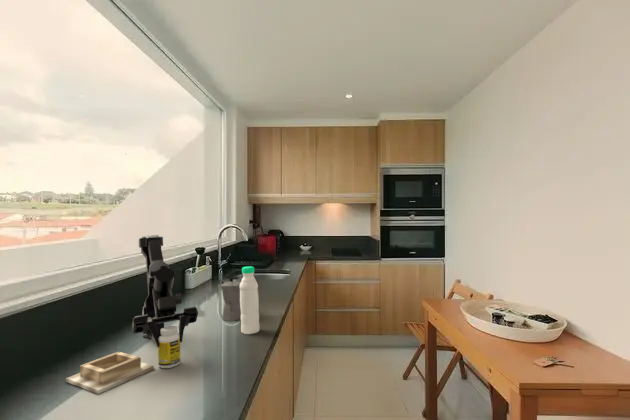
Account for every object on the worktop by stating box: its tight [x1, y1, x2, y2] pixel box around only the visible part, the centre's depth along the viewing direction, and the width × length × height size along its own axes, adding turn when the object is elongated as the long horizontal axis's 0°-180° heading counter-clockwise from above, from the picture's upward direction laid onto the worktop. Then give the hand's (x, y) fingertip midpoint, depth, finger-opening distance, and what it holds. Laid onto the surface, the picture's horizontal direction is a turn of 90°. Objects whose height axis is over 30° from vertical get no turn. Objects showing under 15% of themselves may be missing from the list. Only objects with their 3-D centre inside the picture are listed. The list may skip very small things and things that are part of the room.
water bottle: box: [239, 265, 261, 335], centre depth 134 cm, size 7×7×25 cm
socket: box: [65, 351, 155, 395], centre depth 100 cm, size 16×16×4 cm
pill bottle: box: [157, 325, 181, 369], centre depth 106 cm, size 6×6×11 cm
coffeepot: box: [220, 276, 242, 322], centre depth 155 cm, size 15×9×18 cm, turn 44°
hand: (169, 344), depth 104 cm, fingers closed on pill bottle, 6 cm apart
